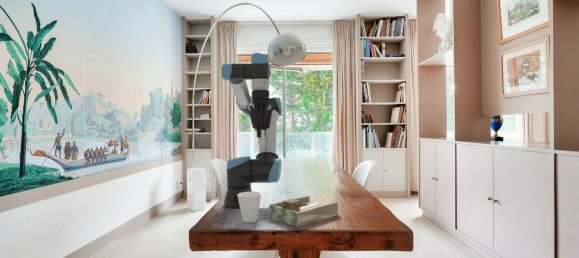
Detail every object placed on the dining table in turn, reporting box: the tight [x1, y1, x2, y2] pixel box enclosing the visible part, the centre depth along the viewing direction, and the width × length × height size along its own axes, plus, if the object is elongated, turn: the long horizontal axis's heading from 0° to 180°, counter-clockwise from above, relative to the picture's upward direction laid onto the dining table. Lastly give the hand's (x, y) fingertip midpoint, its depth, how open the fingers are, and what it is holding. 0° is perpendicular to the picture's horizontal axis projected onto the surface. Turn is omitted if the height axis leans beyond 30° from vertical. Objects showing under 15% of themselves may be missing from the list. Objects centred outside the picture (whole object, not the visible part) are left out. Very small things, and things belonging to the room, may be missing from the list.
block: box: [281, 198, 300, 212], centre depth 129 cm, size 5×5×5 cm
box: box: [268, 195, 339, 228], centre depth 135 cm, size 18×23×6 cm
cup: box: [237, 191, 262, 224], centre depth 129 cm, size 10×10×11 cm
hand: (261, 145), depth 136 cm, fingers closed
